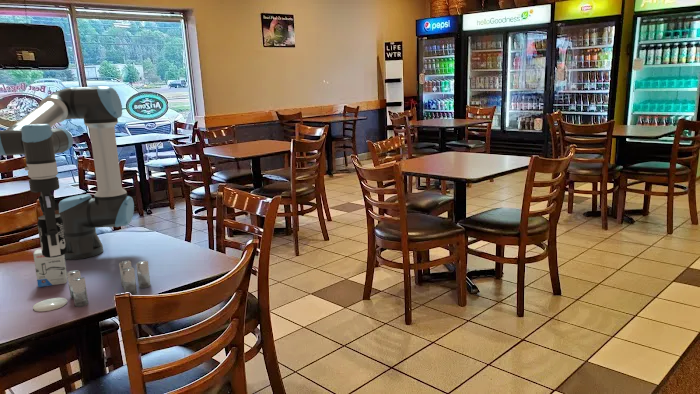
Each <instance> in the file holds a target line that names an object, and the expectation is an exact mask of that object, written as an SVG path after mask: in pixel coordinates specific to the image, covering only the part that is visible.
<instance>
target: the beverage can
mask: <svg viewBox="0 0 700 394" xmlns="http://www.w3.org/2000/svg"><path fill="white" fill-rule="evenodd" d="M55 218H56V224H57V230H58V239H59V245H60V252H61V255H57V256H51V257H58V256H62V255H64V254H65V253H66V252H67V246H66V239H65V233H64V226H63V220H62V218H61V217H60V214H59V213H55ZM36 224H37V230H38V235H39V236H38V237H39V240H40V242H39V243H40V249H41V250H42V255H44V256H45V257H48V258H51V257H50V251H49V244H48V238H47V236H45V233H47V227H46V221H45V215H44V216H43V215H41V216H38V221H37V222H36ZM52 230H54V229H52Z"/></svg>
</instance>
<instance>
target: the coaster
mask: <svg viewBox="0 0 700 394" xmlns="http://www.w3.org/2000/svg"><path fill="white" fill-rule="evenodd" d="M67 303H68V299H67V298H64V297H51V298H48V299H44V300H41V301H39V302H37V303H35V304H34V305H33V306H32V309H33V311H35V312H39V313H42V312H49V311H54V310H57V309H60V308H62V307H65V306H66V305H67Z"/></svg>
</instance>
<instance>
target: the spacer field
mask: <svg viewBox="0 0 700 394" xmlns="http://www.w3.org/2000/svg"><path fill="white" fill-rule="evenodd" d="M118 265H119V274H120V282H121V287H122V288H123V290H124V291H123V292H124V293H125V292H130V293H131V294H132V295H131V296H134V295H136V294H137V293H138V290H137V284H138V288H139V289H146V287H147V288H149V287H151V276H150V268H149V262H148V261H147V260H143V261H142V260H141V261H138V262H136V263H135V266H136V272H135V268H134V267H132V261H131V260H123V261H119V262H118ZM135 273H137V274H135ZM136 275H137V281H136ZM67 278H68V279H67V282H68V289H69V295H70V299H73V300H74V306H75V307H76V308H77V307H78V308H79V307H85V306H87V305H89V297H88V292H87V291H88V290H87V284H86V278H85V277H83V276H81V270H78V269H76V270H75V269H74V270H70V271H67ZM137 282H138V283H137Z"/></svg>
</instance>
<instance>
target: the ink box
mask: <svg viewBox="0 0 700 394" xmlns="http://www.w3.org/2000/svg"><path fill="white" fill-rule="evenodd" d="M33 261H34V267H35V269H34V270H35V276H36V282H37V287H38V288H43V287H50V286H56V285H64V284H66V283H67V282H68V276H67V273H68V271H67V264H66V259H65V256H64V255H62V256H58V257H51V258H48V257H45V256H44V255H42V250H41V248H38V249H35V250H34V251H33Z"/></svg>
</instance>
